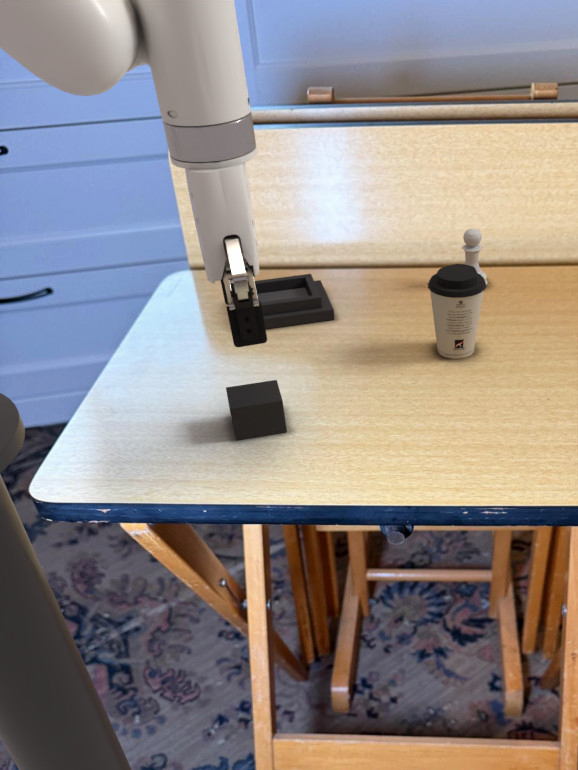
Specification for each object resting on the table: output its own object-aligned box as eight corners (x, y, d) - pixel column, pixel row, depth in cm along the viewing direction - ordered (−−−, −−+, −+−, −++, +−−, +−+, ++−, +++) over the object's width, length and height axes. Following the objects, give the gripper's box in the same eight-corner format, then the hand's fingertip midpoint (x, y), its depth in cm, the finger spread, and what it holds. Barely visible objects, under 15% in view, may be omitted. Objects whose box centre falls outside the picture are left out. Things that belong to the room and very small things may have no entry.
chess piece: (477, 275, 117) (479, 220, 112) (493, 287, 114) (496, 231, 108) (448, 281, 115) (449, 226, 110) (464, 294, 112) (466, 237, 107)
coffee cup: (470, 368, 96) (472, 289, 90) (418, 356, 99) (417, 279, 92) (491, 343, 101) (495, 266, 94) (442, 332, 104) (442, 257, 97)
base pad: (245, 332, 105) (242, 311, 103) (238, 301, 113) (234, 280, 111) (334, 319, 107) (332, 298, 105) (321, 289, 115) (319, 269, 113)
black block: (235, 440, 86) (229, 408, 83) (231, 418, 89) (225, 387, 87) (287, 432, 87) (282, 400, 84) (281, 410, 90) (276, 379, 88)
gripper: (164, 119, 75) (202, 293, 86) (171, 173, 62) (214, 369, 73) (244, 110, 76) (271, 282, 87) (266, 161, 63) (295, 355, 74)
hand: (245, 322), depth 80 cm, fingers open, 9 cm apart
